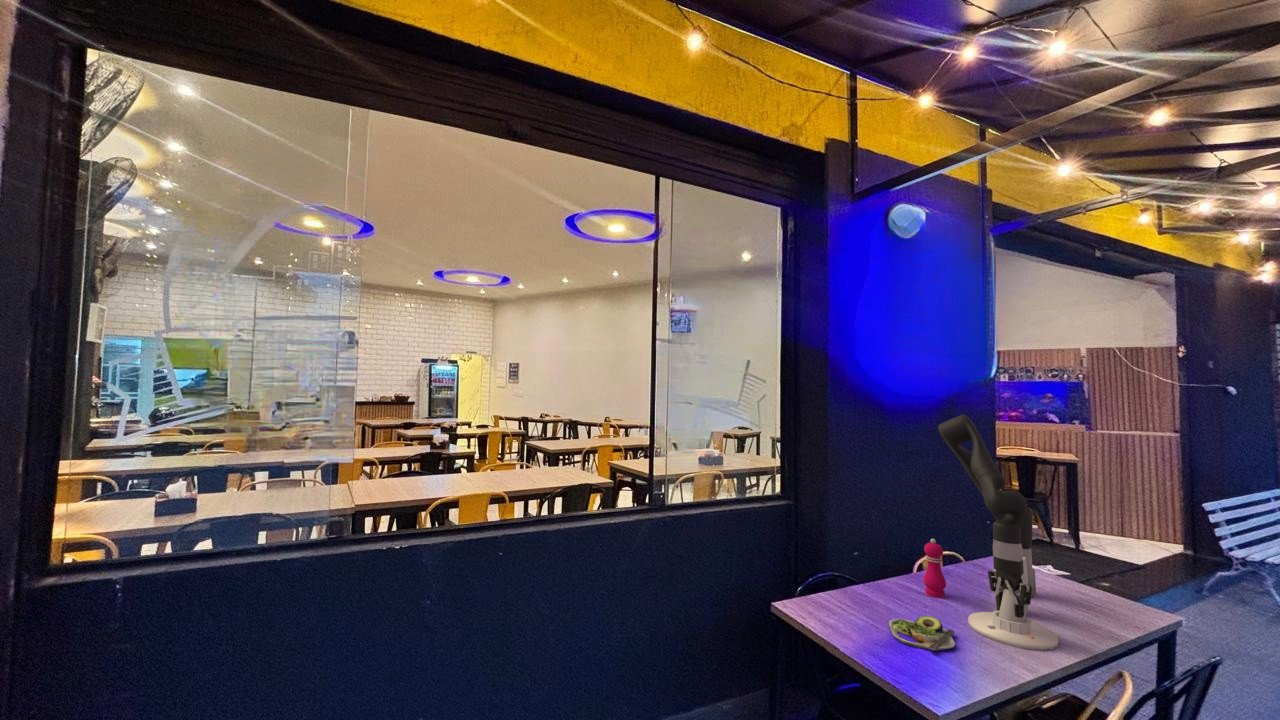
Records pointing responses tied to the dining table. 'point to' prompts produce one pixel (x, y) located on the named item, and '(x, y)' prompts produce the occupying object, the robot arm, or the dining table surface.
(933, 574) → the pepper mill
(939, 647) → the salad plate
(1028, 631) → the twist-lock holder
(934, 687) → the dining table surface
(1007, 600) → the beverage can
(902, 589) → the dining table surface
